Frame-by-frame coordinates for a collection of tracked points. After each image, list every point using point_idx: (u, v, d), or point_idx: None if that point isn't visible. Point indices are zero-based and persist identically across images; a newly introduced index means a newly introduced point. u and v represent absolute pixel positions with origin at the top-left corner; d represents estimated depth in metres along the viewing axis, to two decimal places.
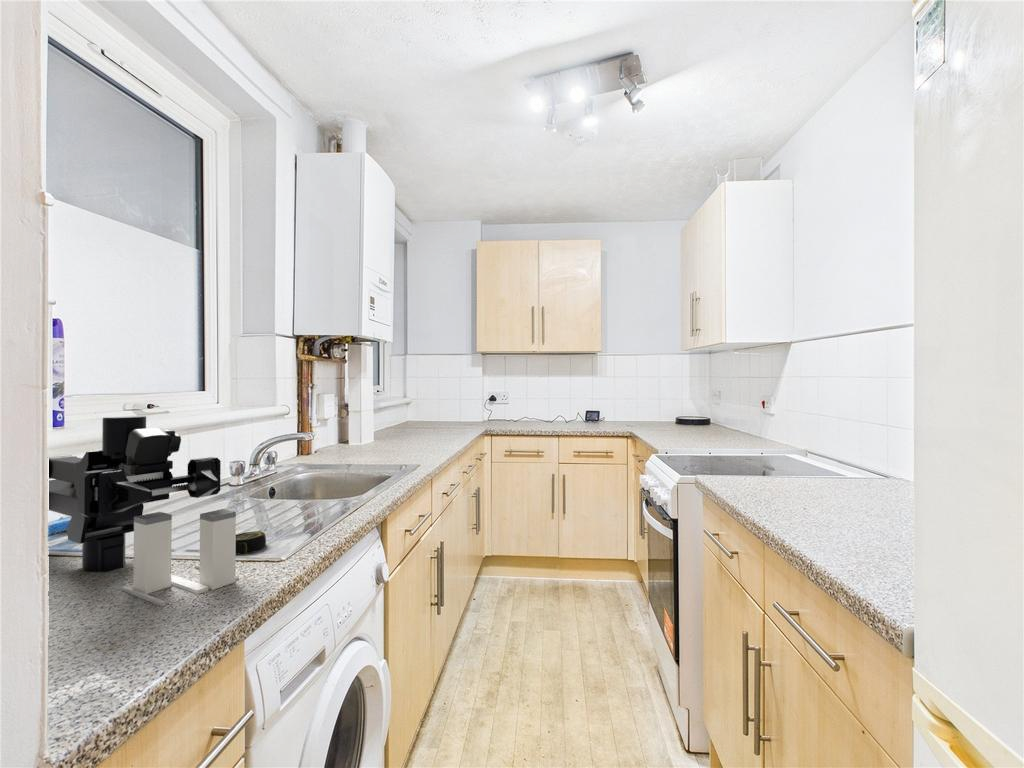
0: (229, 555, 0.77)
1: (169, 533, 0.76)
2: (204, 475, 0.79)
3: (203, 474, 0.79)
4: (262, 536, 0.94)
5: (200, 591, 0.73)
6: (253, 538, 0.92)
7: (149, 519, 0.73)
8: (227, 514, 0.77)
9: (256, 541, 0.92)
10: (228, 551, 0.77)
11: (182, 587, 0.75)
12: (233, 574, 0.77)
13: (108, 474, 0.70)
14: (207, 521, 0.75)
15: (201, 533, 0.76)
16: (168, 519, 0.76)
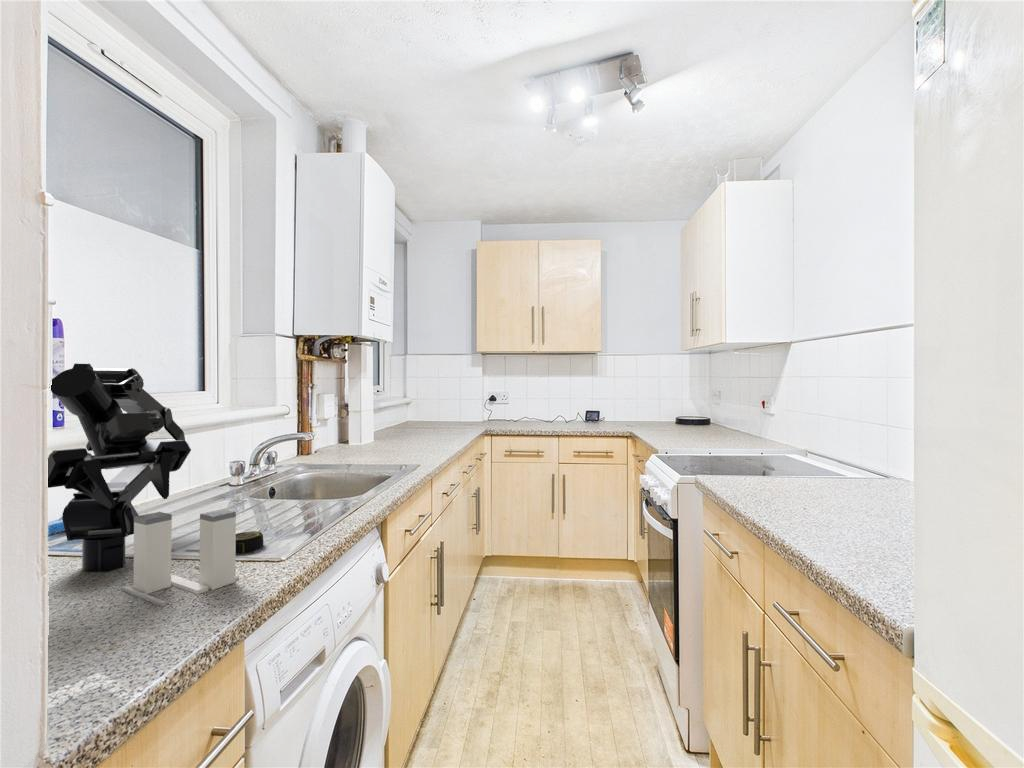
0: (229, 555, 0.77)
1: (169, 533, 0.76)
2: (161, 475, 0.82)
3: (161, 473, 0.82)
4: (260, 536, 0.94)
5: (200, 591, 0.73)
6: (250, 538, 0.92)
7: (149, 519, 0.73)
8: (227, 514, 0.77)
9: (254, 541, 0.92)
10: (228, 551, 0.77)
11: (182, 587, 0.75)
12: (233, 574, 0.77)
13: (85, 464, 0.74)
14: (207, 521, 0.75)
15: (201, 533, 0.76)
16: (168, 519, 0.76)
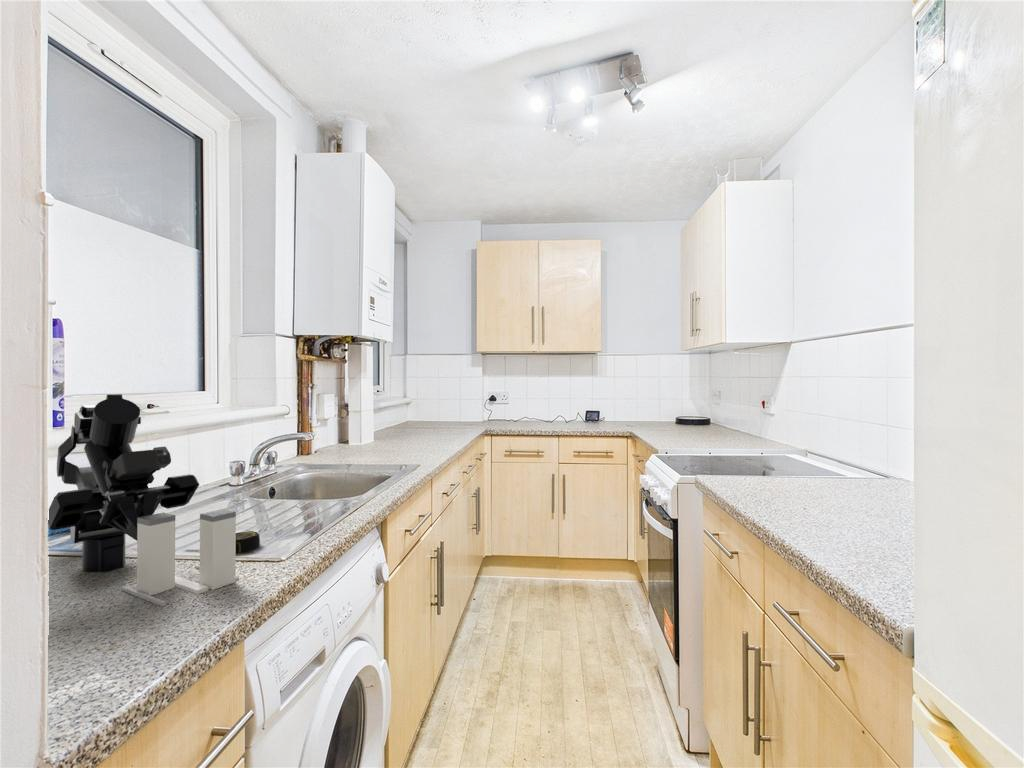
0: (229, 555, 0.77)
1: (173, 534, 0.75)
2: None
3: (143, 515, 0.77)
4: (256, 536, 0.94)
5: (200, 591, 0.73)
6: (247, 538, 0.92)
7: (153, 520, 0.73)
8: (227, 514, 0.77)
9: (250, 541, 0.92)
10: (228, 551, 0.77)
11: (182, 587, 0.75)
12: (233, 574, 0.77)
13: (119, 501, 0.75)
14: (207, 521, 0.75)
15: (201, 533, 0.76)
16: (172, 520, 0.75)
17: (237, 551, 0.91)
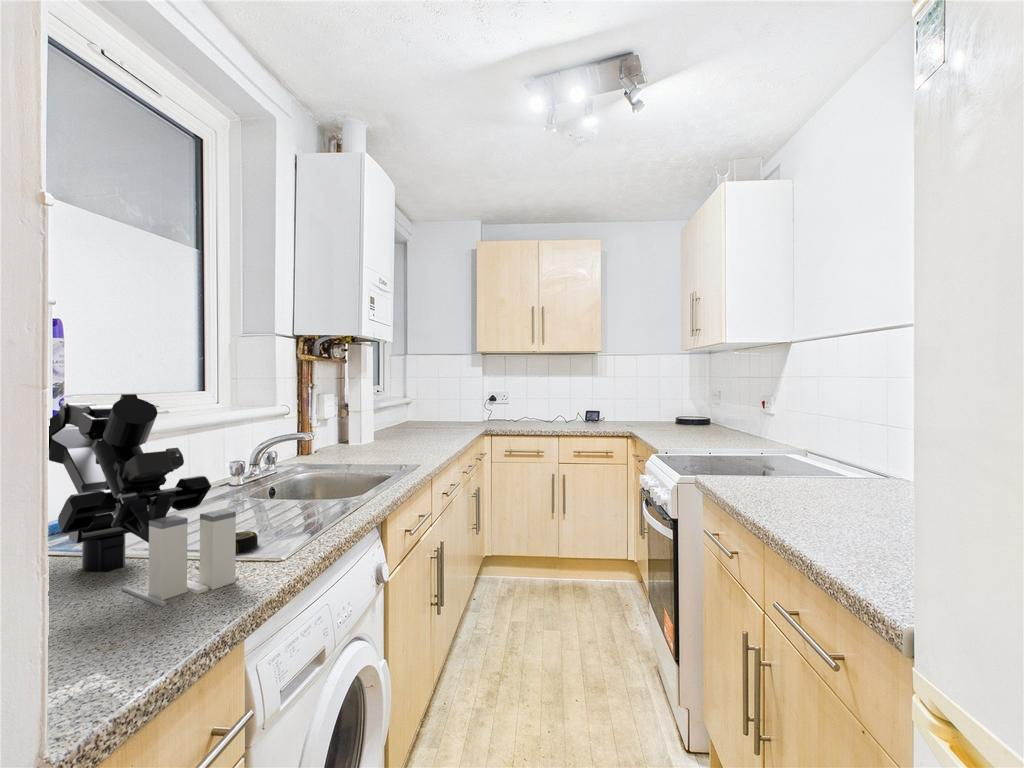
0: (229, 555, 0.77)
1: (185, 537, 0.74)
2: None
3: (156, 518, 0.76)
4: (254, 536, 0.94)
5: (200, 591, 0.73)
6: (244, 538, 0.92)
7: (165, 523, 0.71)
8: (227, 514, 0.77)
9: (248, 541, 0.92)
10: (228, 551, 0.77)
11: None
12: (233, 574, 0.77)
13: (132, 503, 0.73)
14: (207, 521, 0.75)
15: (201, 533, 0.76)
16: (184, 523, 0.73)
17: None
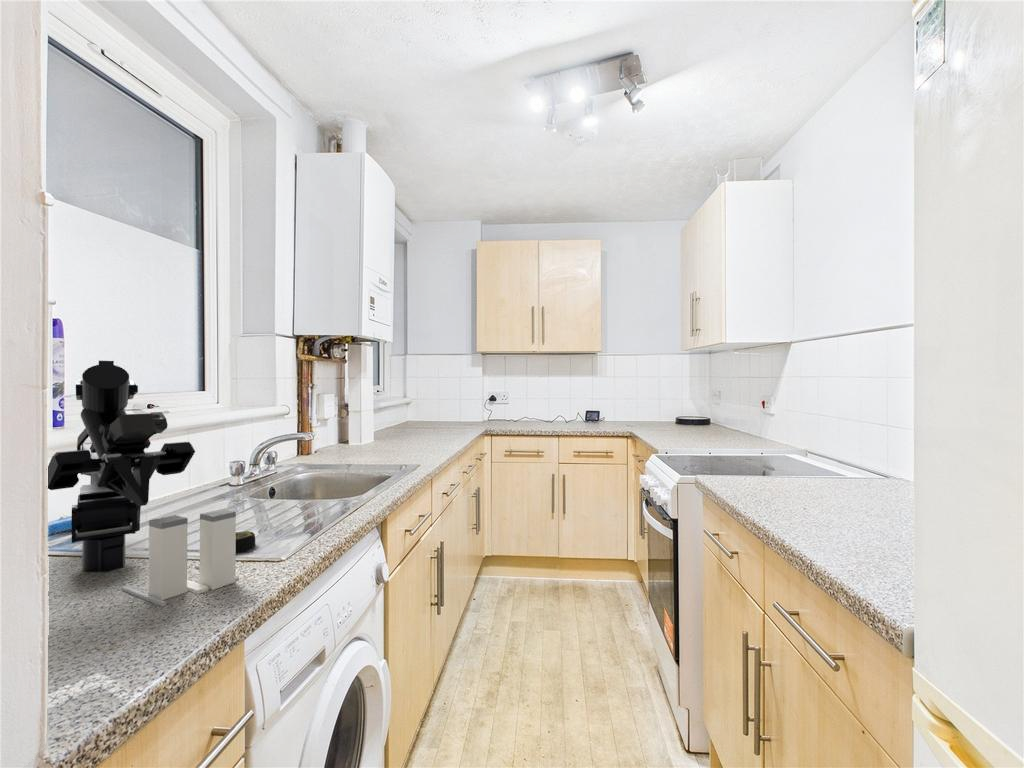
0: (229, 555, 0.77)
1: (185, 537, 0.74)
2: (140, 480, 0.78)
3: (140, 478, 0.78)
4: (251, 536, 0.94)
5: (200, 591, 0.73)
6: (242, 538, 0.92)
7: (165, 523, 0.71)
8: (227, 514, 0.77)
9: (245, 541, 0.92)
10: (228, 551, 0.77)
11: None
12: (233, 574, 0.77)
13: (116, 462, 0.76)
14: (207, 521, 0.75)
15: (201, 533, 0.76)
16: (184, 523, 0.73)
17: None
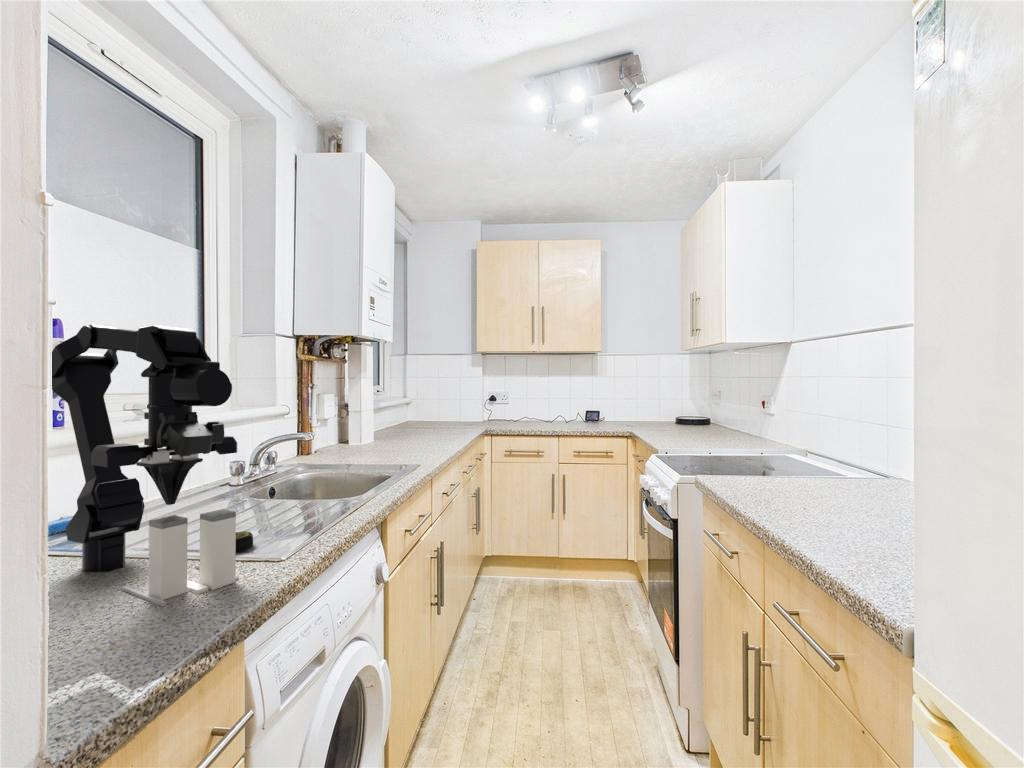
0: (229, 555, 0.77)
1: (185, 537, 0.74)
2: (176, 480, 0.78)
3: (176, 477, 0.78)
4: (249, 536, 0.94)
5: (200, 591, 0.73)
6: (240, 538, 0.92)
7: (165, 523, 0.71)
8: (227, 514, 0.77)
9: (243, 541, 0.92)
10: (228, 551, 0.77)
11: None
12: (233, 574, 0.77)
13: (161, 466, 0.75)
14: (207, 521, 0.75)
15: (201, 533, 0.76)
16: (184, 523, 0.73)
17: None
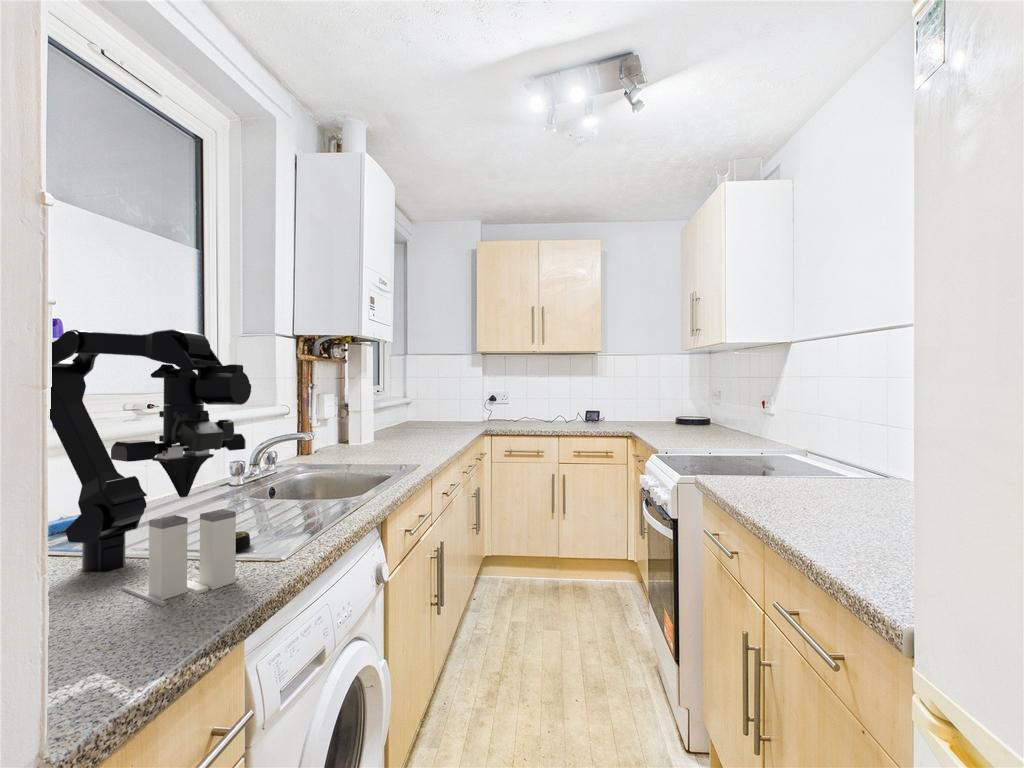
0: (229, 555, 0.77)
1: (185, 537, 0.74)
2: (188, 474, 0.84)
3: (189, 472, 0.84)
4: (246, 536, 0.94)
5: (200, 591, 0.73)
6: (236, 538, 0.92)
7: (165, 523, 0.71)
8: (227, 514, 0.77)
9: (240, 541, 0.92)
10: (228, 551, 0.77)
11: None
12: (233, 574, 0.77)
13: (175, 461, 0.80)
14: (207, 521, 0.75)
15: (201, 533, 0.76)
16: (184, 523, 0.73)
17: None
